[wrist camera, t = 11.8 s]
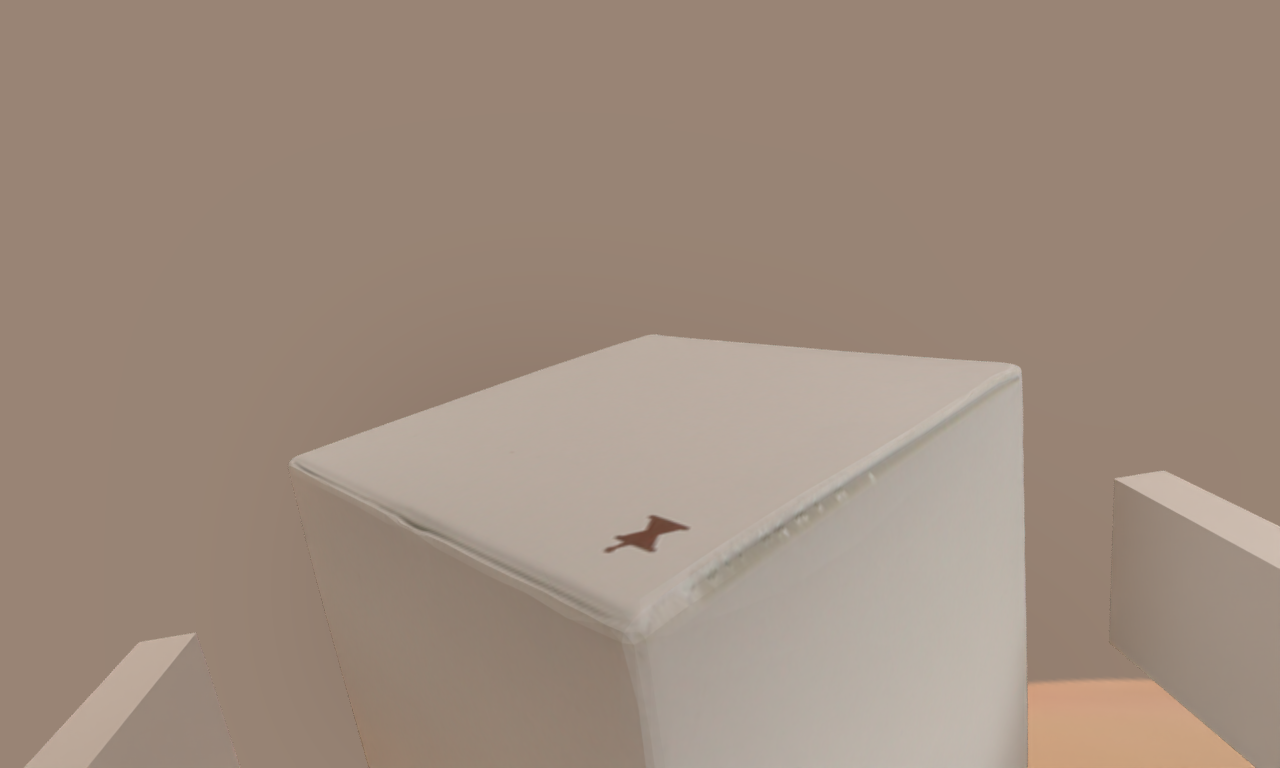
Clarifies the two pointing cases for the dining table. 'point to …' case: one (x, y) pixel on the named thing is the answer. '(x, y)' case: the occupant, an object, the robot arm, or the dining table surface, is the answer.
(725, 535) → the supplement box
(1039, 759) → the dining table surface
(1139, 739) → the dining table surface
